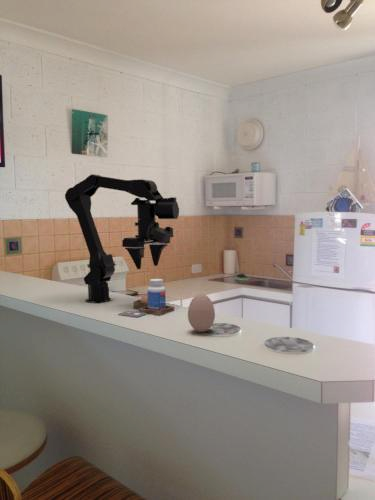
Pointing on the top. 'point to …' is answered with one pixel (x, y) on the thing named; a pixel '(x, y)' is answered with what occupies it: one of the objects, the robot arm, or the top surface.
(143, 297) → the terracotta ball
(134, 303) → the walnut frame
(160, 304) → the pill bottle
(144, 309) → the walnut socket
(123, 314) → the slate card
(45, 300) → the top surface
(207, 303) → the egg
